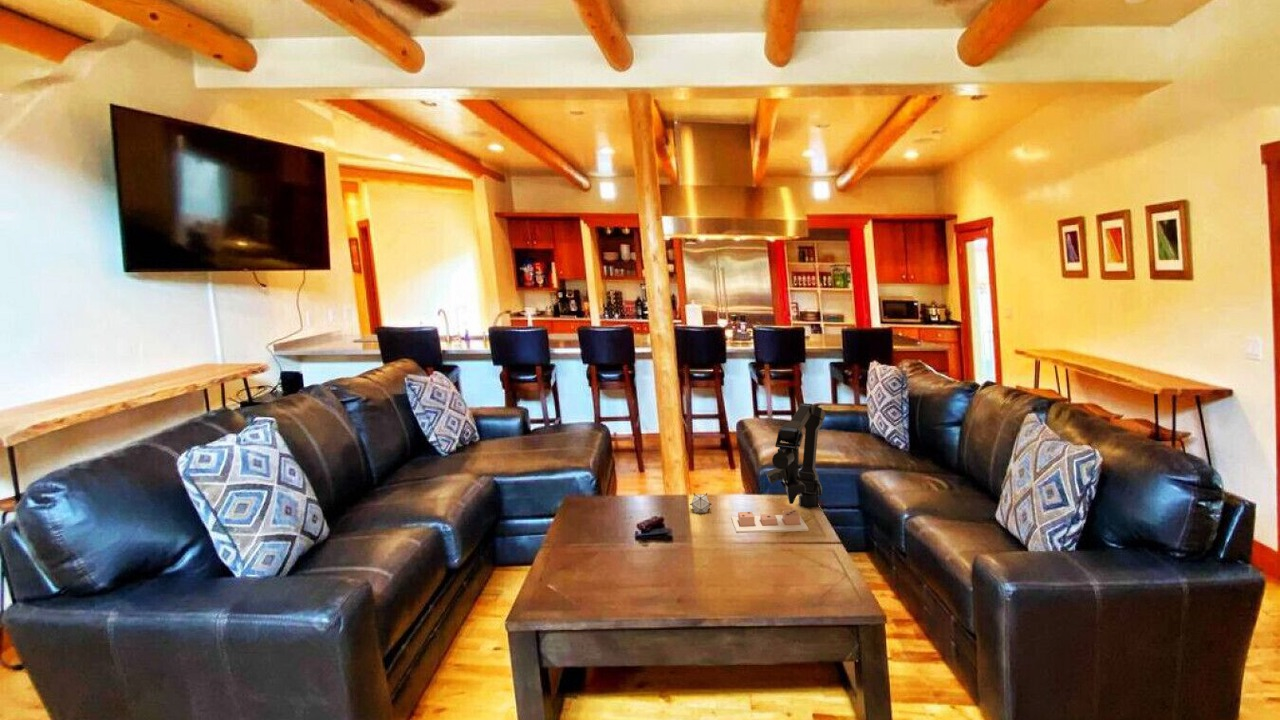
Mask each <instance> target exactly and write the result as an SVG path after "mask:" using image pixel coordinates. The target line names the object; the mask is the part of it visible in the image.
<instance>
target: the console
mask: <svg viewBox="0 0 1280 720" xmlns="http://www.w3.org/2000/svg"><path fill="white" fill-rule="evenodd" d="M775 516H776V518H777V526H762V524H761V522H760V515H754V519H755V526H747V527H740V525H739V523H738V515H737V516H731V517H730V518H731V521H732V525H733V527H734V530H735V533H736V534H749V533H750V534H751V533H777V532H778V533H779V532H780V533H782V532H808V531H809V530H810V529H809V527H808V525H807V524H806V523H805V521H804V519H803V518H802V517H801V515H800V525H785V524H784V523H783V514H775Z"/></svg>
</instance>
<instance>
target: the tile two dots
mask: <svg viewBox="0 0 1280 720" xmlns="http://www.w3.org/2000/svg"><path fill="white" fill-rule="evenodd" d="M737 513H738V514H737V516H738V524H739V527H747V526H755V519H754V516H755V515H754V513H753V511H738V512H737Z"/></svg>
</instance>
